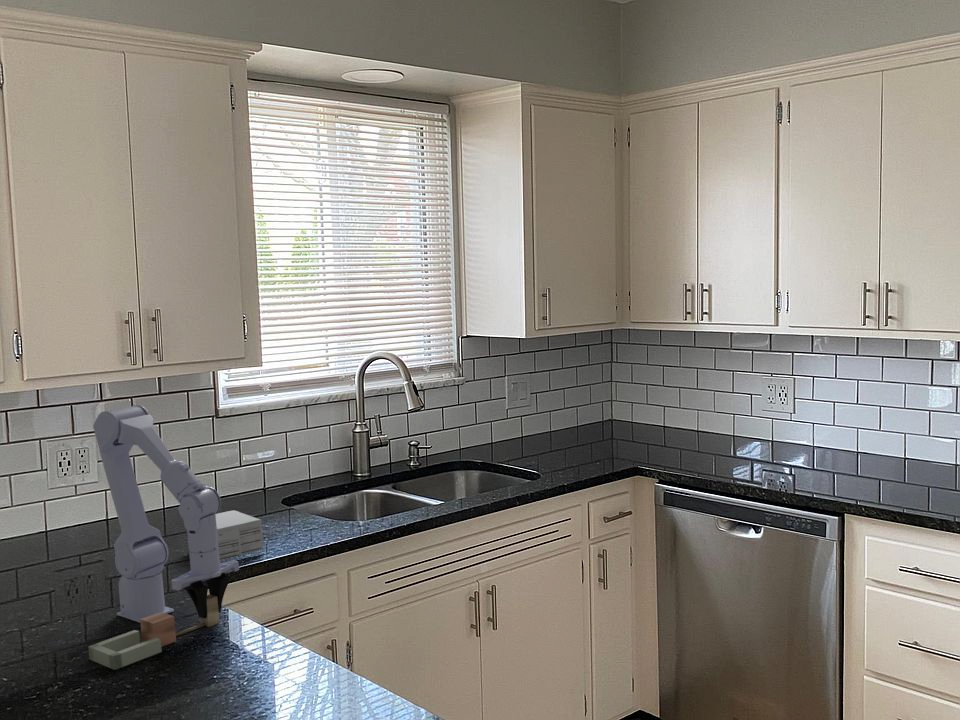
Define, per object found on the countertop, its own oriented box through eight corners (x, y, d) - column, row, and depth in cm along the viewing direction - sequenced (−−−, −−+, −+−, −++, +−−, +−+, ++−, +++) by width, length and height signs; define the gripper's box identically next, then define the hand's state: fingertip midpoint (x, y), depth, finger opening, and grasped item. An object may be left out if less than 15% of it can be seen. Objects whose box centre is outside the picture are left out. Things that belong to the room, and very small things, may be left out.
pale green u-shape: (89, 659, 175) (88, 646, 174) (136, 642, 182) (134, 629, 182) (114, 669, 169) (113, 656, 169) (161, 651, 176) (160, 638, 176)
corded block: (142, 644, 181) (139, 616, 180) (209, 619, 192) (207, 593, 192) (155, 649, 178) (152, 621, 177) (222, 623, 189) (220, 597, 189)
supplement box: (265, 555, 237) (262, 519, 237) (215, 567, 229) (212, 530, 229) (237, 543, 251) (234, 508, 250) (190, 554, 243) (186, 518, 242)
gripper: (183, 561, 180) (189, 630, 181) (245, 542, 191) (251, 607, 192) (163, 556, 185) (169, 623, 186) (225, 538, 196) (230, 601, 197)
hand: (209, 614), depth 190 cm, fingers closed on corded block, 3 cm apart
